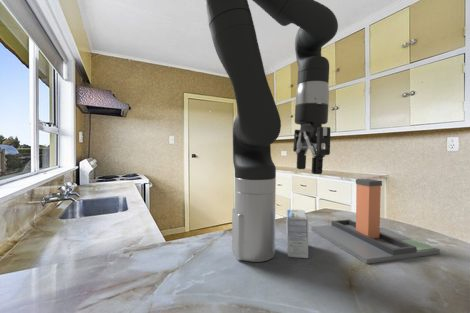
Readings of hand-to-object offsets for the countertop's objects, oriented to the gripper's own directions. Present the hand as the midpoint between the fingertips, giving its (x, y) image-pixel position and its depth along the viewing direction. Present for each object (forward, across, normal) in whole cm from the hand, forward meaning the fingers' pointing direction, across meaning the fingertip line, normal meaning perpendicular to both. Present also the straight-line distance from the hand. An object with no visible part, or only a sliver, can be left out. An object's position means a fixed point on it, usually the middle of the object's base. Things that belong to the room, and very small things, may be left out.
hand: (308, 171), depth 54 cm
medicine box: (+18, +3, -3) cm, 19 cm away
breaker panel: (+18, 0, +17) cm, 25 cm away
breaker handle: (+17, -1, +17) cm, 24 cm away
